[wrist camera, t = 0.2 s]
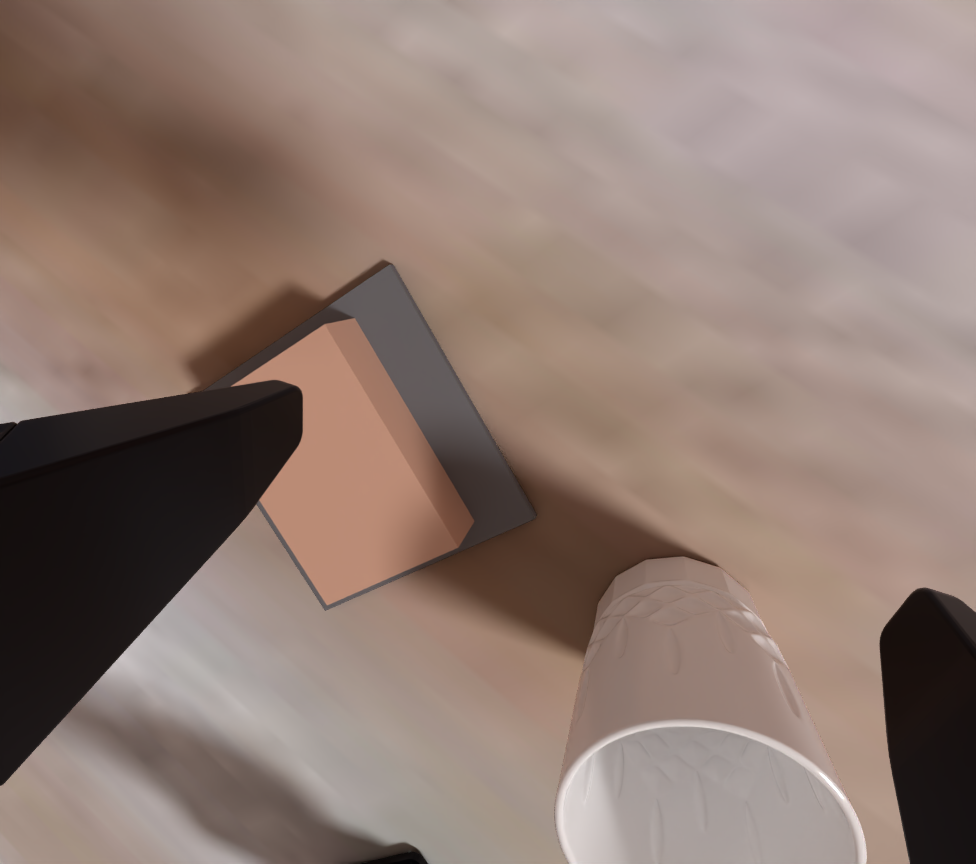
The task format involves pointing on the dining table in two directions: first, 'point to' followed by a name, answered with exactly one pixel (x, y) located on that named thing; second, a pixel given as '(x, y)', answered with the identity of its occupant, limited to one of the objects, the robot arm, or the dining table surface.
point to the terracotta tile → (357, 470)
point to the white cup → (695, 735)
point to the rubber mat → (418, 408)
